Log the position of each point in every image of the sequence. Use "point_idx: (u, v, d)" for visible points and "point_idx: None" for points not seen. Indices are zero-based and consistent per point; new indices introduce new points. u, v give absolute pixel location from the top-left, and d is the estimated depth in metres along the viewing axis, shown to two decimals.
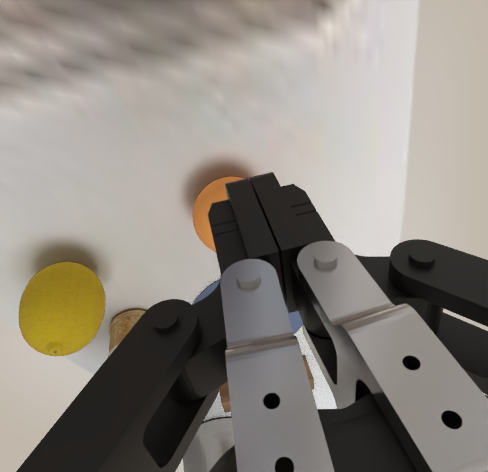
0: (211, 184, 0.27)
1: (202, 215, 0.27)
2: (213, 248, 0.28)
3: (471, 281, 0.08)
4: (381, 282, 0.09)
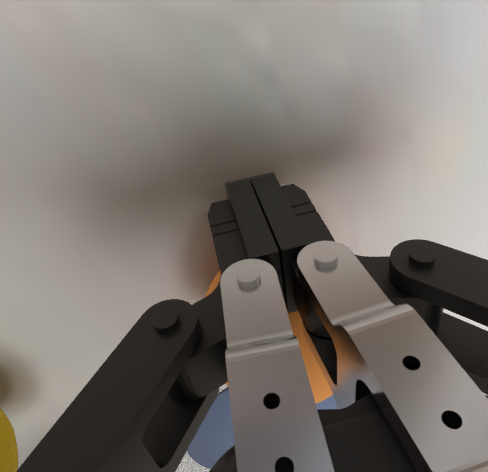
0: None
1: None
2: None
3: (471, 281, 0.08)
4: (381, 282, 0.09)
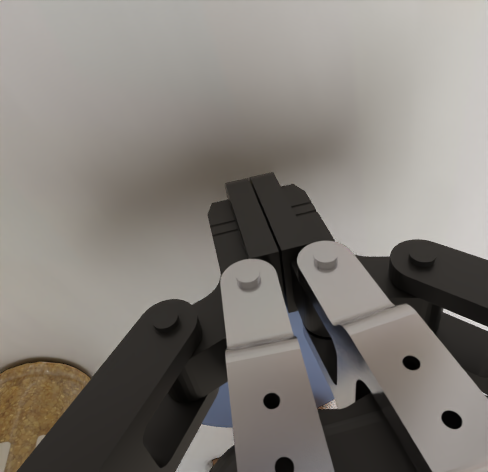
0: None
1: None
2: None
3: (471, 281, 0.08)
4: (381, 282, 0.09)
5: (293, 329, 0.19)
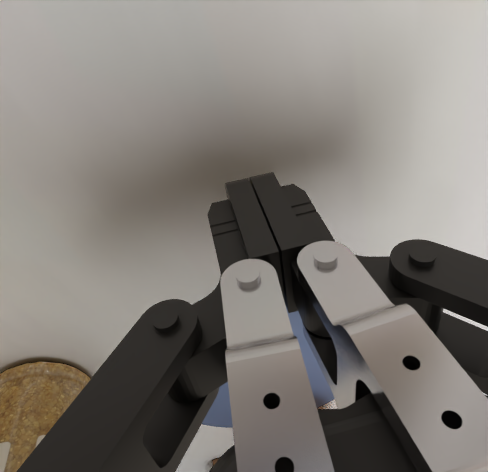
0: None
1: None
2: None
3: (471, 281, 0.08)
4: (381, 282, 0.09)
5: (293, 329, 0.19)
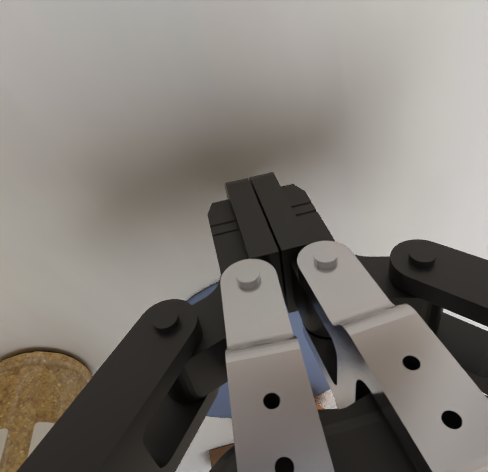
0: None
1: None
2: None
3: (471, 281, 0.08)
4: (381, 282, 0.09)
5: None
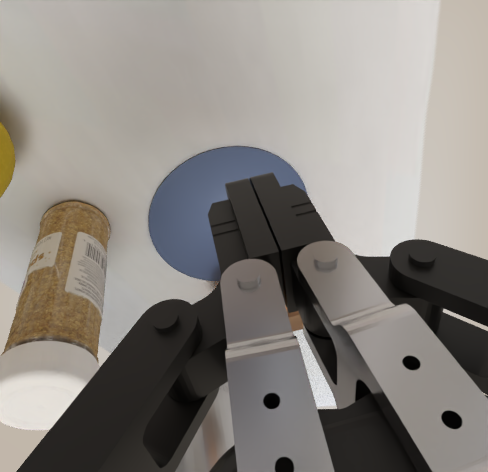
0: None
1: None
2: None
3: (471, 281, 0.08)
4: (381, 282, 0.09)
5: None
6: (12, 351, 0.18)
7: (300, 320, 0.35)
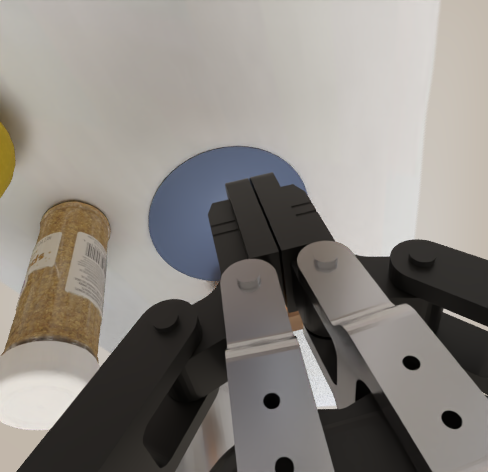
0: None
1: None
2: None
3: (471, 281, 0.08)
4: (381, 282, 0.09)
5: None
6: (13, 351, 0.18)
7: (300, 320, 0.35)
